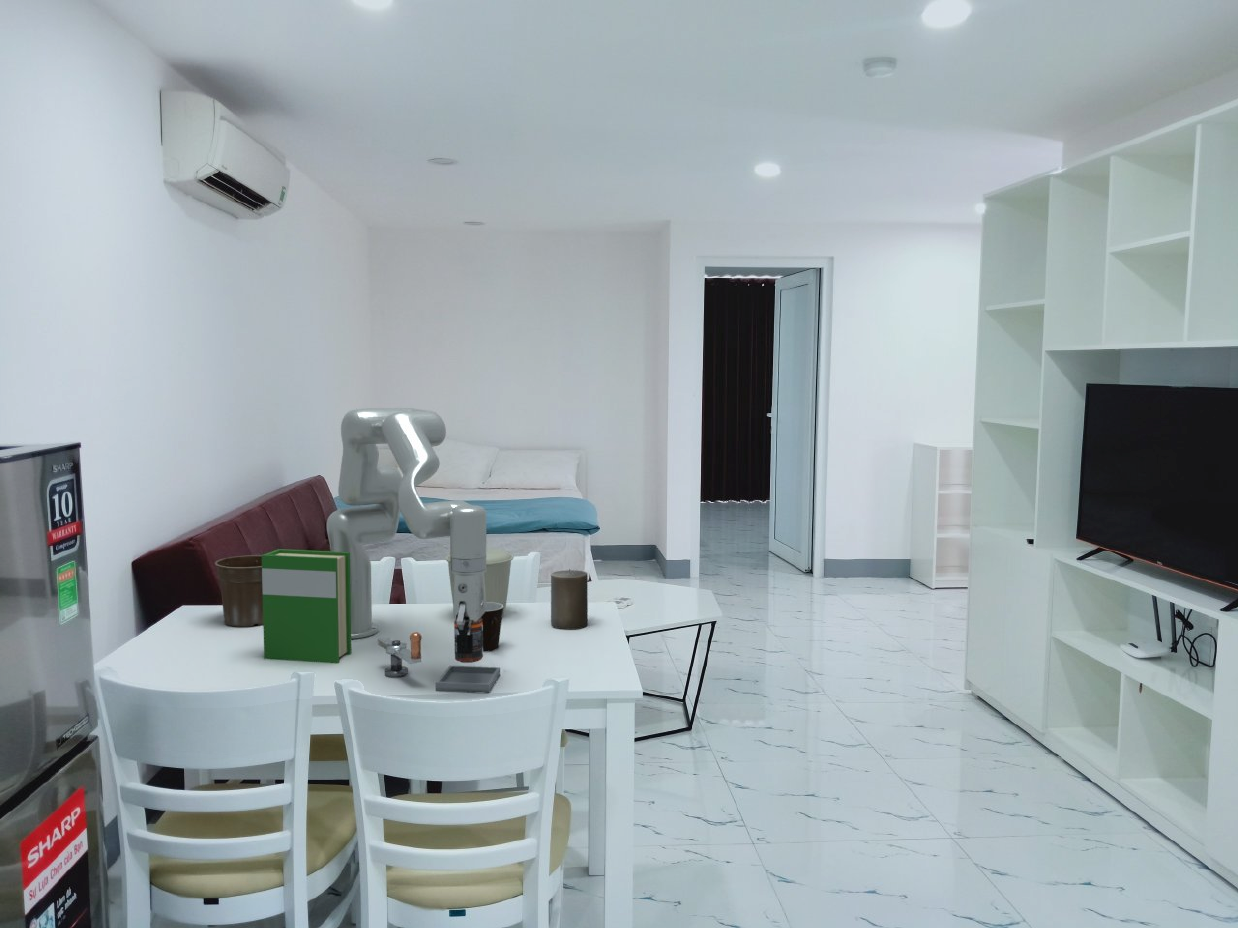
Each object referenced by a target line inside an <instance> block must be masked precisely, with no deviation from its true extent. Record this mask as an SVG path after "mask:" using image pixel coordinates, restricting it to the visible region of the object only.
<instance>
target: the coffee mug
mask: <svg viewBox="0 0 1238 928" xmlns="http://www.w3.org/2000/svg"><path fill="white" fill-rule="evenodd" d="M502 613H503V605H502V604H499V603H493V602H486V611H485V613H484V614H483V615H482V616H481V618H482V622H483V653H484V652H491V651H496V650H498V649H499V646H500V638H501V628H502V622H503V614H504V613H503V614H502Z"/></svg>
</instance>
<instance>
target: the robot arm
mask: <svg viewBox="0 0 1238 928" xmlns="http://www.w3.org/2000/svg"><path fill="white" fill-rule="evenodd" d="M446 434H447V428H446V424H445V421H444V420H443V418H442V417H441V415H440V414H438V413H437V412H436V411H433V410H426V409H419V408H412V407H411V408H410V407H388V408H385V407H378V408H377V407H376V408H375V407H373V408H371V407H370V408H356V409H352V410H349V411H348V412H346V413H345V414H344V416H343V418H342V420H341V424H340V436H341V442H342V457H341V463H340V473H339V479H338V488H337V489H338V490H337V491H338V492H337V494H338V498H339V500H340V501H341V503H343V504H345V505H347V506H350V507H344V508H340V509H337V510H335V511H333V512H332V513H331V514H330V515H329V516H328V517H327V519H326V532H327V537H328V542H329V549H330V550H329V551H332V552H350V587H351V640H353V639H360V638H367V637H370V636H373V635H375V634H376V633H377V634H378V632H379V626H378V624H377V623H374V622H373V618H372V617H373V615H372V614H373V607H372V605H373V603H372V602H373V601H372V562H371V559H370V557H369V555H368V554H367V552H366V551H364V549H363V548H362V546H366V545H369V544H377V543H384V542H388V541H391V540H392V539H394V537H395V536H396V534H397V531H398V527H399V521H400V515H401V516H402V518H403V521H405V524H406V525H407V528H408V530H409V531H410V532H411V534H412V535H414V536H415V537H417V538H418V539H422V540H428V539H436V538H445V537H449V554H450V572H451V573H453V574H455V576H454V599H453V600H452V607H453V619H454V621H455V620H456V621H457V653H459V654H472V652H473V634H471V629H472V620H473V621H474V622H476V621H477V620H478V619H479V618H480V617H481V616H482V615H483V614H484V613H485V611H486V596H485V579H484V573H485V572H486V571H487V570H486V547H487V511H486V509H485V508H484V507H483V506H481V505H477V504H476V505H474V504H473V505H472V504H470V503H468V502H466V501H463V500H460V499H459V500H445V501H436V502H435V501H434V502H425V503H424V502H423V501H422V499H421V497H420V496H419V494H418V492H417V489H416V487H418V486H419V485H421V484H423V483H425V482H426V481H428V480H429V479H430V478H432V477H433V476H434V475H435V474H436V473H437V472H438V471H439V467H440V464H441V463H440V462H441V461H440V458H439V456H438V454H436V451H435V449H434V448H435V447H438V446H441V444H442V443H443V442H444V441H445V438H446V436H447V435H446ZM377 445H387V447H388V448H389V450H390V451H391V454H392V456H393V457H394V459H395V462H396V463H397V465H398V467H399V469H400V471H399V470H398V469H397V468H396V467H394V466H392V465H387V464H386V465H385V464H384V465H379V458H380V457H379V456H380V452H379V451H380V450H379V449H378V446H377ZM400 472H402V473H400ZM402 475H403V476H402ZM351 506H353V507H351ZM465 617H469V620H465ZM465 623H468V628H467V625H465Z"/></svg>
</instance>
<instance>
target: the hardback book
mask: <svg viewBox="0 0 1238 928" xmlns="http://www.w3.org/2000/svg"><path fill="white" fill-rule="evenodd" d="M261 555H262V587H263V625H262V626H263V653H264V656H263V657H264V660H276V661H277V660H279V661H291V662H292V661H294V662H305V663H306V662H307V663H309V662H310V663H324V664H339V663H340V658H341V657H342V656H344V655H345V656H346V655H347V656H351V655H352V653H353V652H352V650H353V649H352V639H351V587H350V552H332V551H331V550H328V551H327V550H308V549H307V550H306V549H283V548H282V549H281V548H277V549H275V550H273V551H269V552H267V553H264V554H261Z"/></svg>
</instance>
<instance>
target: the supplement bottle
mask: <svg viewBox="0 0 1238 928" xmlns="http://www.w3.org/2000/svg"><path fill="white" fill-rule="evenodd" d="M465 620H469V617H465ZM453 622H454V623H453V624H454V625H453V626H454V627H453V628H454V630H453V636H454V660H456V661H457V662H458V663H459V662H460V663H464V664H466V663H467V664H469V663H470V664H471V663H476V662H480V661H482V659H483V657H484V652H483V622H482V618H481V617H480V618H479V619H478V620H477V621H476V622H474V621H473V620H472V629H471V634H473V652H472V654H459V653H457V621H456V620H455V619H454V621H453ZM465 625H467V628H468V623H465Z"/></svg>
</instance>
